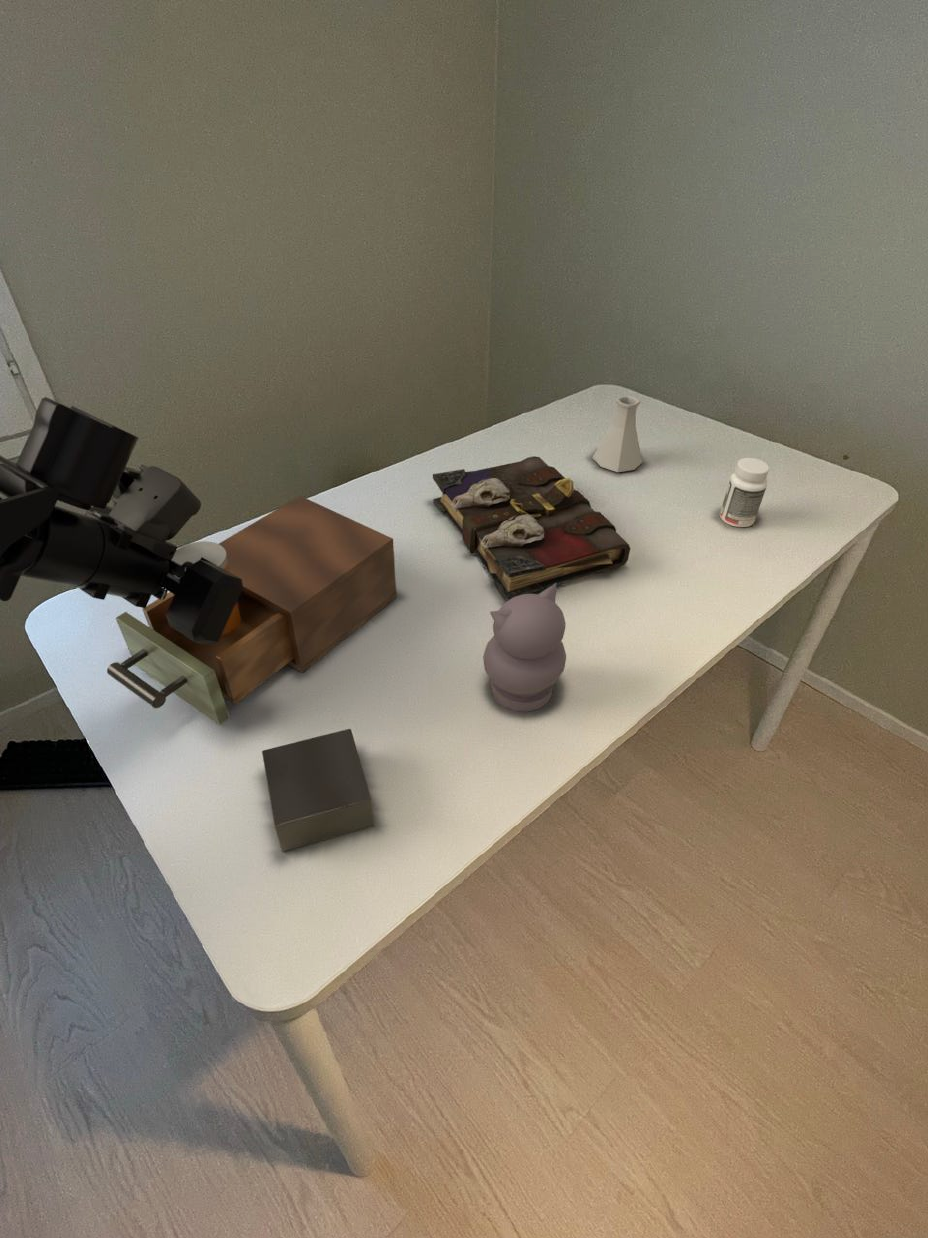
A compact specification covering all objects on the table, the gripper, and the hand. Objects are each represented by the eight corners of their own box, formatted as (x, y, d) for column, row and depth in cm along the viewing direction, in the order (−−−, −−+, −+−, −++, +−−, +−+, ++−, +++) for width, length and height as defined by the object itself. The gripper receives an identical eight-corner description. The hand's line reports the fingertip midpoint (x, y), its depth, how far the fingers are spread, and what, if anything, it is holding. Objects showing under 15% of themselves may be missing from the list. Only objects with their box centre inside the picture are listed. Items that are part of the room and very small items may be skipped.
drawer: (186, 752, 66) (167, 704, 61) (101, 688, 71) (78, 639, 67) (325, 642, 77) (318, 594, 72) (242, 594, 83) (230, 547, 78)
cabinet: (302, 673, 75) (290, 612, 69) (211, 617, 81) (193, 558, 75) (396, 597, 84) (393, 538, 78) (309, 552, 90) (300, 495, 85)
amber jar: (216, 645, 69) (197, 581, 63) (177, 627, 70) (156, 563, 65) (253, 614, 72) (238, 551, 67) (214, 598, 74) (197, 535, 69)
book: (631, 573, 88) (642, 525, 83) (502, 607, 83) (505, 558, 78) (536, 471, 106) (541, 426, 102) (425, 494, 101) (424, 448, 96)
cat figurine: (510, 731, 69) (519, 644, 61) (466, 682, 74) (469, 595, 66) (577, 696, 73) (593, 609, 65) (530, 651, 78) (540, 565, 70)
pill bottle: (761, 524, 97) (780, 471, 91) (732, 530, 96) (750, 476, 90) (740, 506, 100) (757, 453, 95) (712, 512, 99) (728, 459, 93)
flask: (616, 445, 113) (627, 385, 106) (650, 464, 109) (664, 402, 102) (583, 458, 110) (593, 397, 103) (617, 478, 105) (629, 415, 99)
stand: (282, 852, 59) (274, 826, 57) (269, 777, 65) (261, 750, 62) (374, 825, 61) (371, 799, 59) (354, 754, 67) (350, 728, 64)
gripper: (197, 497, 51) (322, 548, 66) (54, 424, 59) (192, 484, 73) (135, 635, 52) (272, 656, 66) (0, 544, 60) (148, 580, 74)
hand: (219, 588), depth 70 cm, fingers closed on amber jar, 5 cm apart
